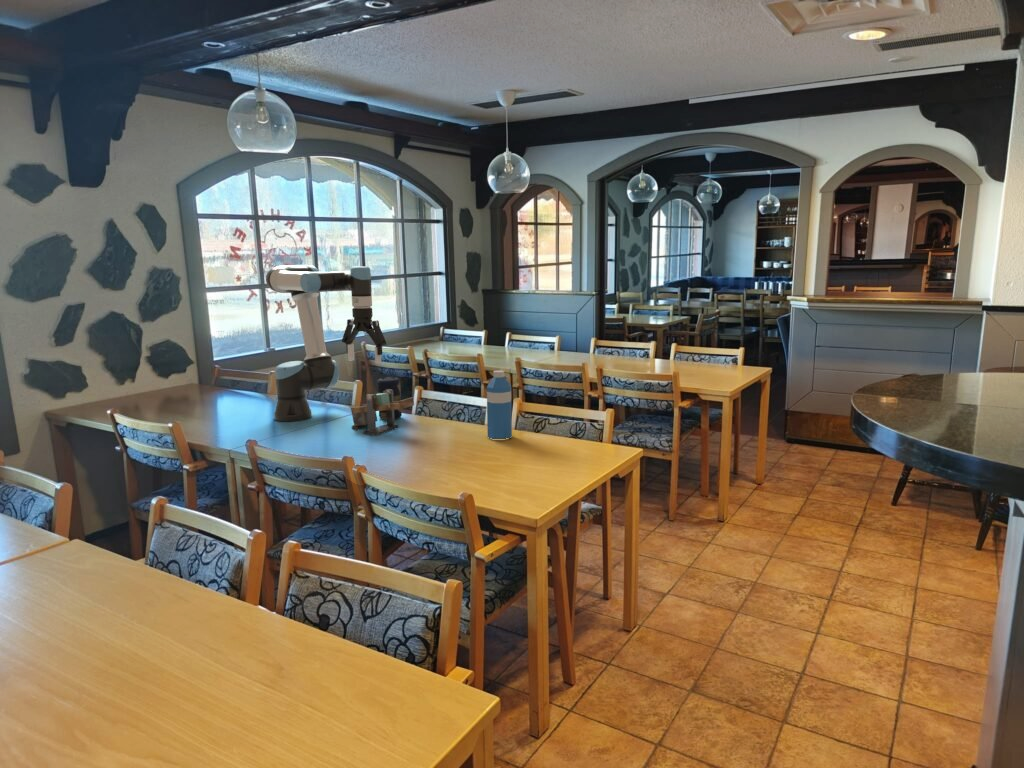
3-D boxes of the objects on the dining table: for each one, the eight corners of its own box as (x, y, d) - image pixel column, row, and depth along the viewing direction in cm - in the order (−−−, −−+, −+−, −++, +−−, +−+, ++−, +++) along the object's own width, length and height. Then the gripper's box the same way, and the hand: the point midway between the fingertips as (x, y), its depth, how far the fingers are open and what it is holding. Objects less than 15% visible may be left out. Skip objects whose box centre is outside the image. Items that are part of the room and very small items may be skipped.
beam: (352, 426, 266) (346, 397, 265) (368, 421, 274) (362, 393, 273) (403, 422, 252) (397, 391, 251) (418, 417, 260) (412, 387, 259)
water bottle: (482, 439, 251) (481, 372, 246) (494, 433, 259) (493, 368, 254) (504, 441, 247) (503, 374, 242) (516, 435, 255) (516, 370, 250)
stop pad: (352, 428, 268) (351, 425, 268) (364, 424, 274) (364, 422, 274) (357, 429, 266) (357, 426, 266) (369, 425, 272) (369, 422, 272)
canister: (399, 421, 279) (397, 378, 276) (376, 421, 279) (374, 378, 276) (403, 415, 289) (402, 374, 285) (381, 415, 289) (379, 374, 285)
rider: (371, 408, 263) (369, 395, 262) (378, 406, 266) (376, 393, 266) (383, 407, 260) (381, 394, 259) (390, 405, 263) (387, 392, 262)
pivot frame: (363, 433, 260) (361, 394, 257) (387, 425, 272) (385, 388, 269) (375, 435, 257) (373, 396, 254) (399, 427, 269) (397, 389, 266)
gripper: (330, 306, 263) (333, 360, 267) (381, 309, 251) (383, 365, 255) (344, 305, 269) (346, 358, 273) (394, 307, 257) (396, 363, 262)
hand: (364, 362), depth 264 cm, fingers open, 13 cm apart
